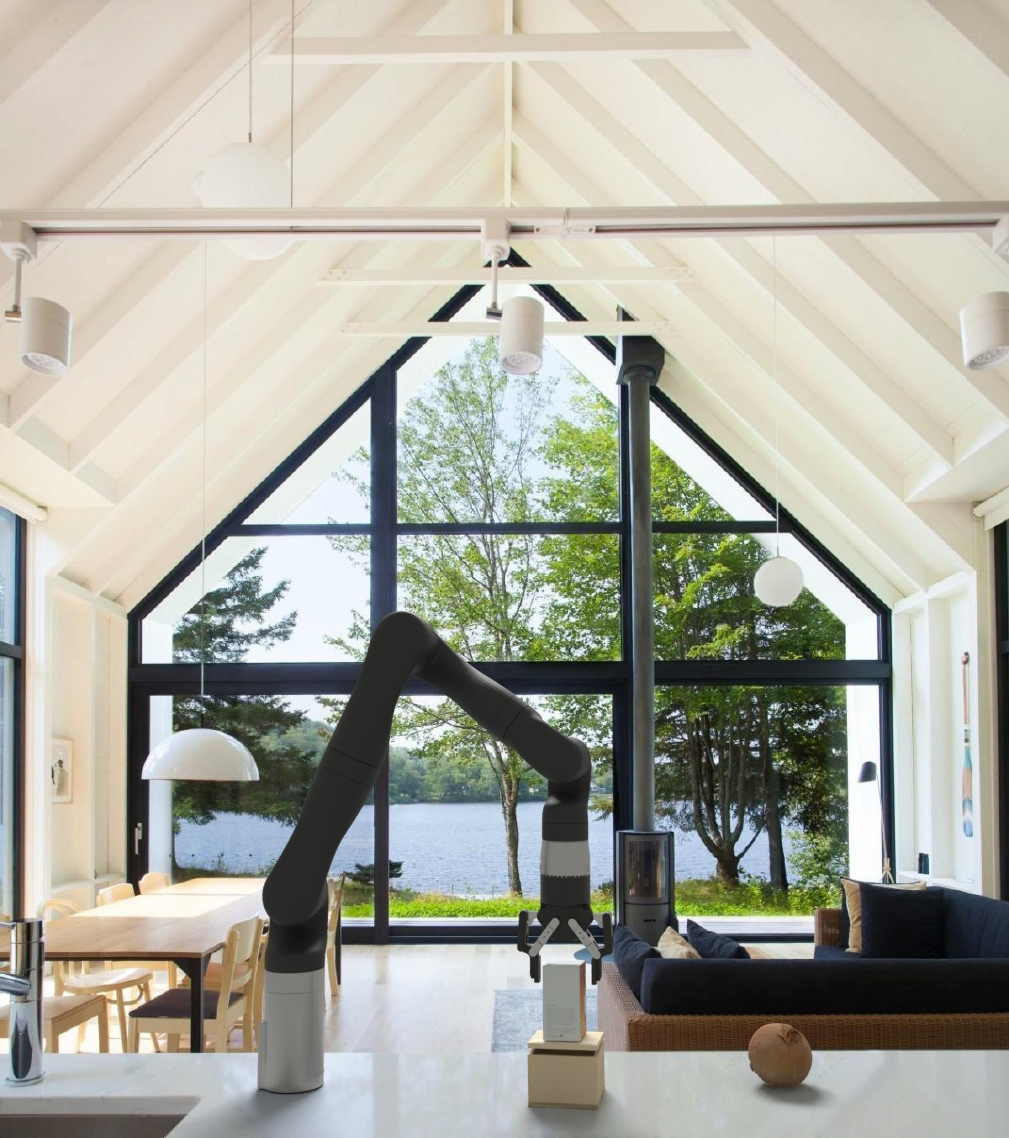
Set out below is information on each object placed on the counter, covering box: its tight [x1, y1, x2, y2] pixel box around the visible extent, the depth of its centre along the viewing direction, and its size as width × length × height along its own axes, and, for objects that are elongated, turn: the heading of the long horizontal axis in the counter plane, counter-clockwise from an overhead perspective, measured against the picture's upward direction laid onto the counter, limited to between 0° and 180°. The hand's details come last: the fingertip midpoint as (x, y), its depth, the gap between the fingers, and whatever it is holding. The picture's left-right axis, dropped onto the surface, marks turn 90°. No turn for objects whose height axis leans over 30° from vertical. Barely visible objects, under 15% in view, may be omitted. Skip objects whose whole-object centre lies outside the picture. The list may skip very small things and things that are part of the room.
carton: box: [527, 1039, 606, 1110], centre depth 175 cm, size 10×10×7 cm
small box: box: [542, 958, 587, 1042], centre depth 176 cm, size 8×6×10 cm
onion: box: [747, 1022, 813, 1089], centre depth 180 cm, size 10×9×10 cm
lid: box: [527, 1029, 605, 1051], centre depth 175 cm, size 10×10×1 cm
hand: (565, 983), depth 177 cm, fingers open, 8 cm apart
